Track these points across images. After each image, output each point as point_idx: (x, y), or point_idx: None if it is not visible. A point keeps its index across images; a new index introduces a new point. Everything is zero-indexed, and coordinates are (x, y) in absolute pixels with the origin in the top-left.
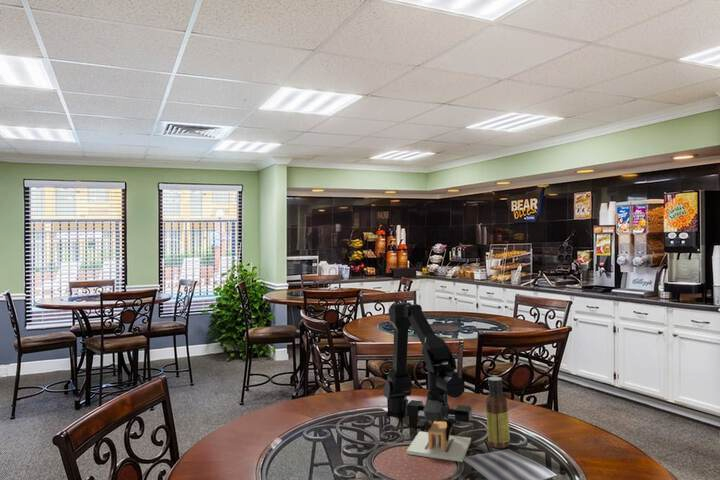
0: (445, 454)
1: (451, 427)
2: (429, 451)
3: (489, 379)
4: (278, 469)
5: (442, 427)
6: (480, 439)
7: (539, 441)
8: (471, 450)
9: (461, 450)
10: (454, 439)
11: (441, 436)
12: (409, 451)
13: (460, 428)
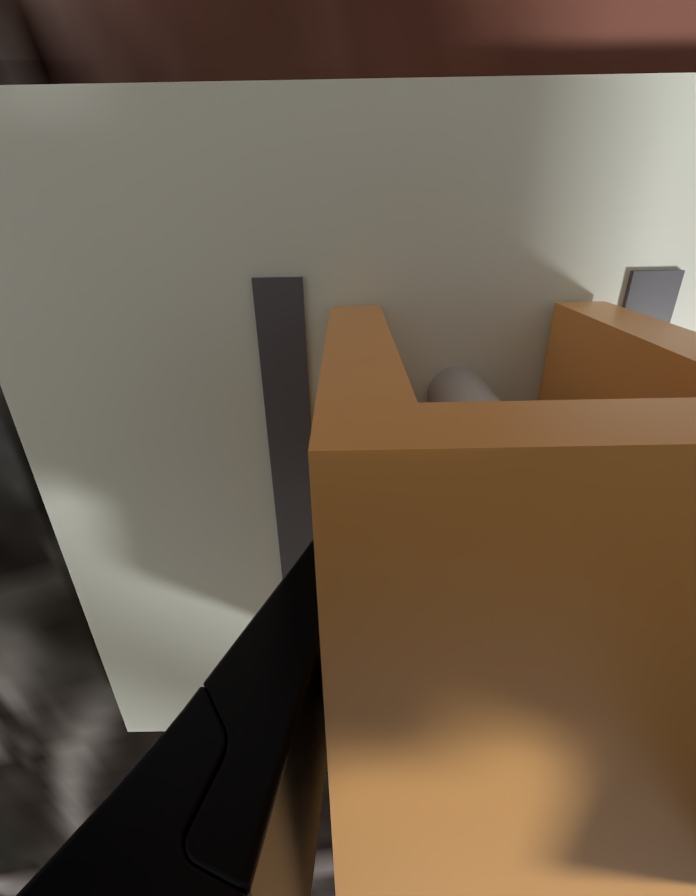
0: (261, 162)
1: (86, 822)
2: (582, 193)
3: None
4: None
5: (436, 782)
6: (78, 742)
7: None
8: (37, 524)
9: (75, 416)
10: None
11: (384, 392)
12: None
13: (320, 843)
